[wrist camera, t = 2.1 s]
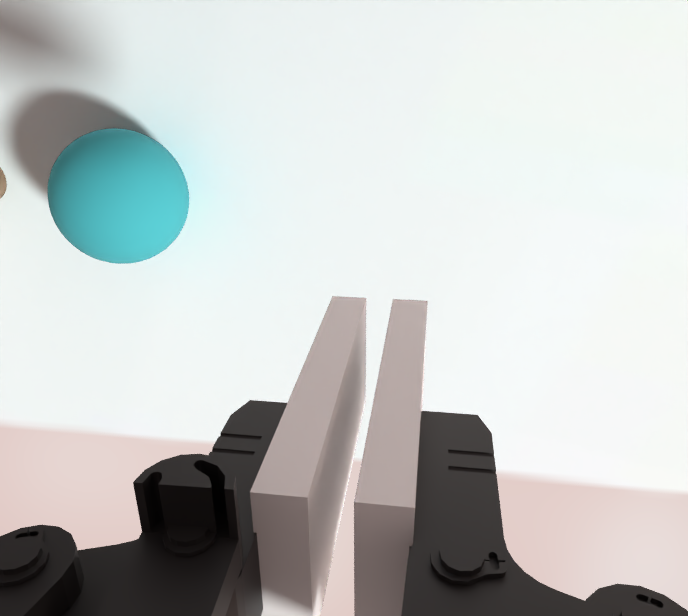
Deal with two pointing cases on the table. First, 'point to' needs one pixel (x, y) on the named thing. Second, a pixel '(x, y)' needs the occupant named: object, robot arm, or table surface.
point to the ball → (118, 195)
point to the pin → (2, 183)
